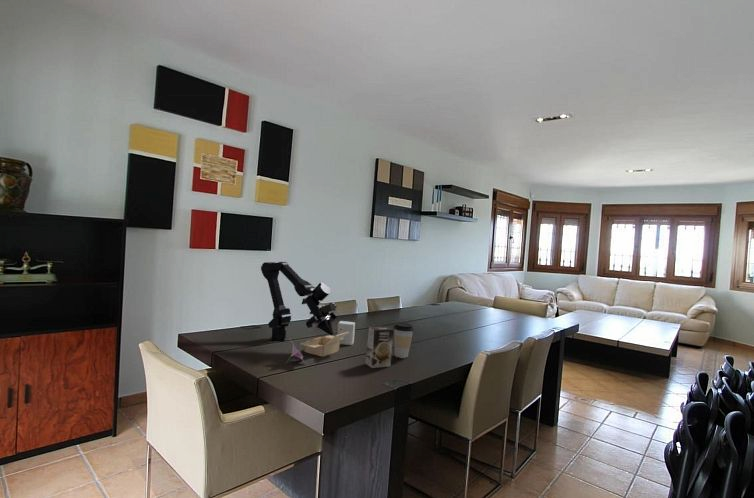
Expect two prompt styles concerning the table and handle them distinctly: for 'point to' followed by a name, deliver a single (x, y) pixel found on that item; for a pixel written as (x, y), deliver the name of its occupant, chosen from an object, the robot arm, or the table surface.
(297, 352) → the lily
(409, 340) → the coffee cup
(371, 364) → the coffee box
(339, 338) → the flap
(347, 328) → the small box
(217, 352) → the table surface
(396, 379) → the table surface
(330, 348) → the carton
